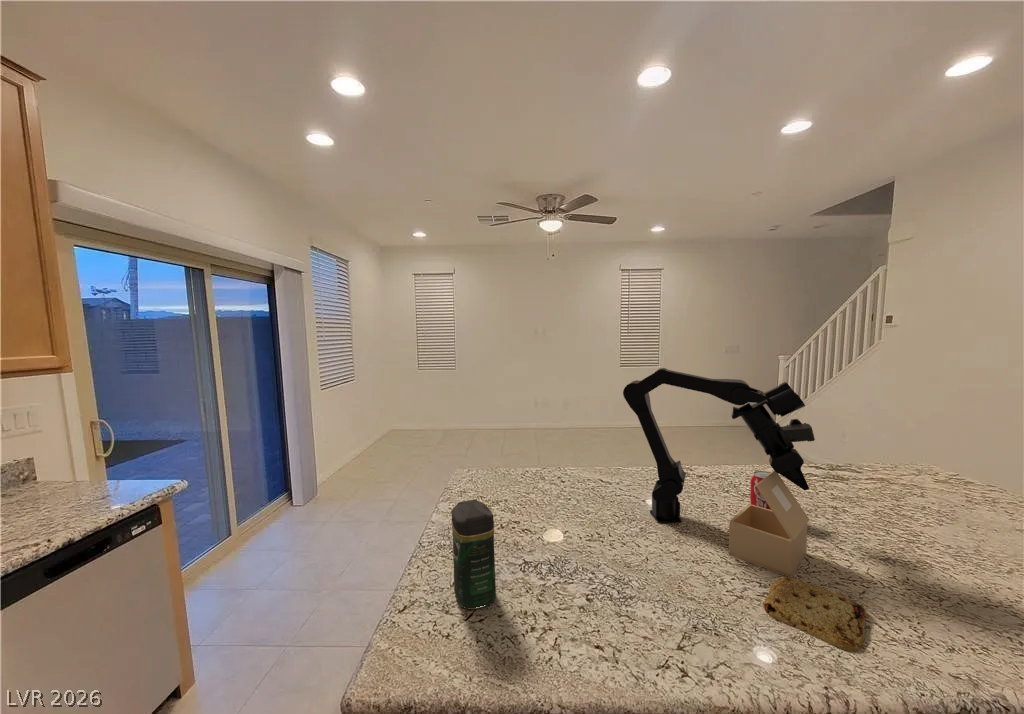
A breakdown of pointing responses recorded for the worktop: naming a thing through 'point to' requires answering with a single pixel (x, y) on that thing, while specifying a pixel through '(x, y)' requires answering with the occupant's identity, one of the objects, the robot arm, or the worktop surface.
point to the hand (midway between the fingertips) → (803, 482)
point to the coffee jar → (473, 554)
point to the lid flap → (783, 504)
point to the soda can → (754, 492)
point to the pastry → (817, 612)
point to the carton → (765, 541)
